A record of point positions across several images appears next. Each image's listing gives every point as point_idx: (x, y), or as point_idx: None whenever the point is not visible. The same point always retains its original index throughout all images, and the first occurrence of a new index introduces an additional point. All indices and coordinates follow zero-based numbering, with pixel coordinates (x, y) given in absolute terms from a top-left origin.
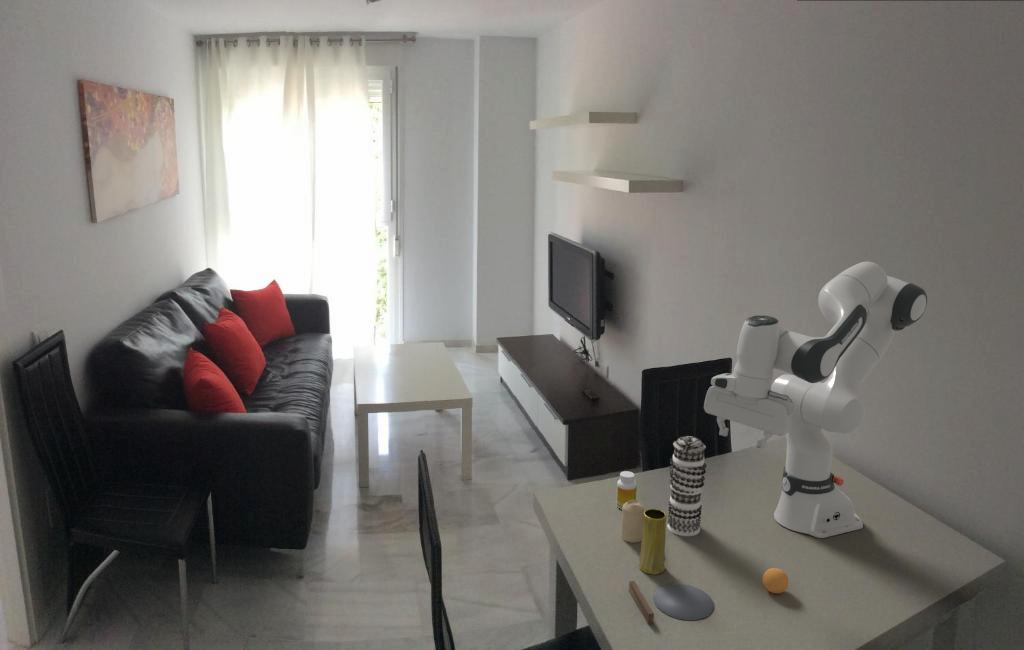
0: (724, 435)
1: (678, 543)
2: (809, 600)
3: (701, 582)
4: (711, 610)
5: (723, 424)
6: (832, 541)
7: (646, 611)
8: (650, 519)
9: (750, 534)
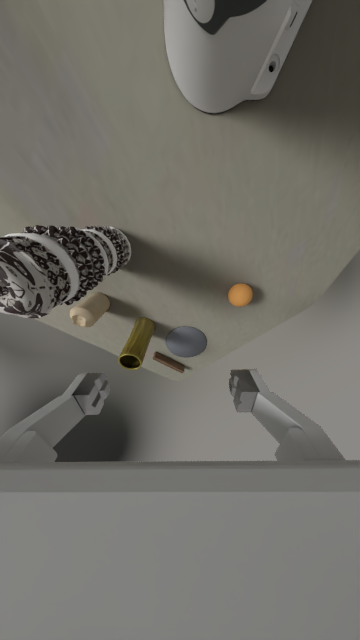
0: (107, 393)
1: (132, 280)
2: (268, 282)
3: (183, 318)
4: (205, 340)
5: (60, 418)
6: (287, 85)
7: (179, 371)
8: (134, 369)
9: (173, 193)
